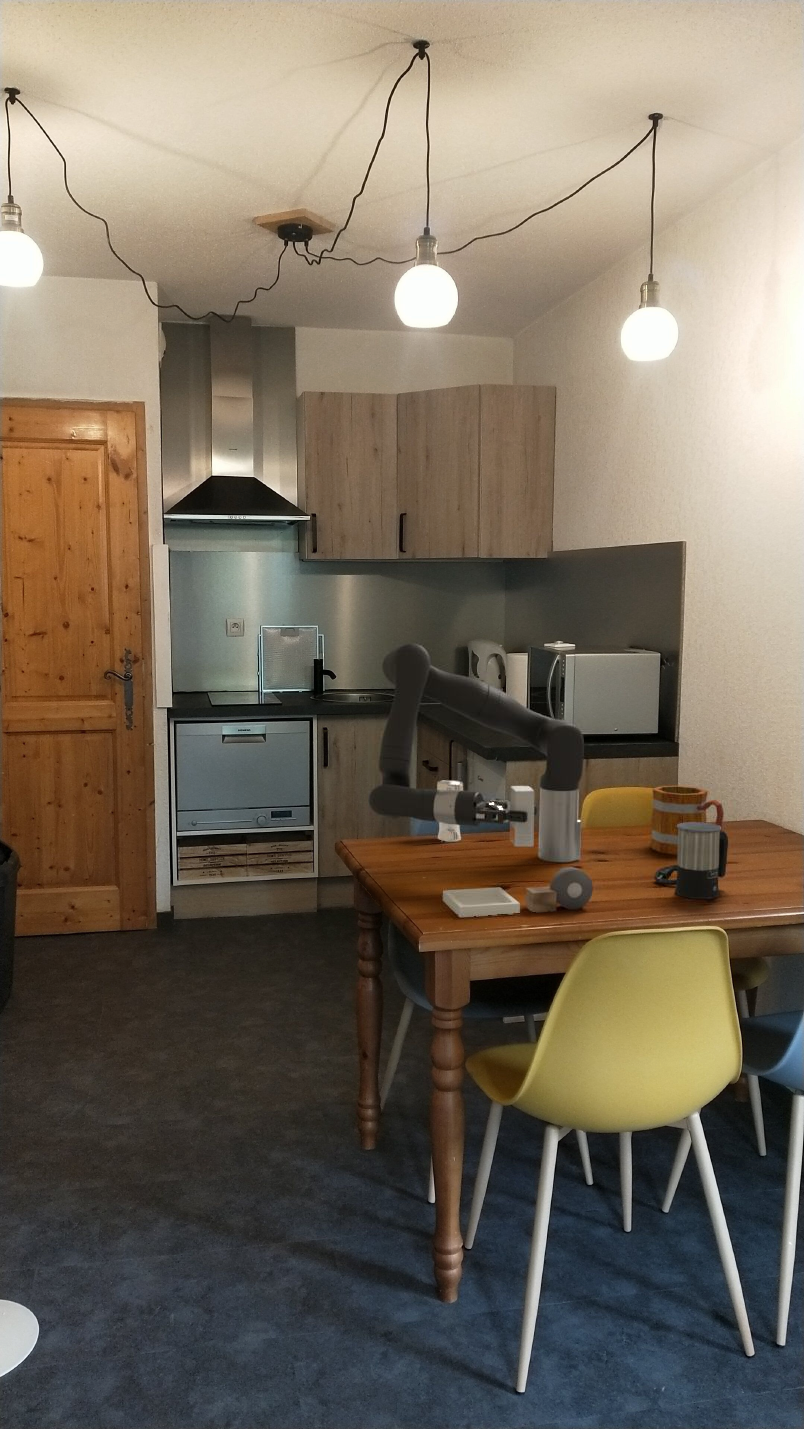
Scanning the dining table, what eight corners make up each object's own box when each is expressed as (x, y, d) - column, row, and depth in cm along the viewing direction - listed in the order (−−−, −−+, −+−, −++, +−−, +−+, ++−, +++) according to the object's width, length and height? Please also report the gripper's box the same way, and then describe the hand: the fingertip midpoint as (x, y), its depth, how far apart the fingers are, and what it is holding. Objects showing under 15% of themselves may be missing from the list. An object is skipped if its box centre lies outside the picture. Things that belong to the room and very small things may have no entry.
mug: (639, 847, 278) (641, 788, 276) (673, 840, 286) (675, 783, 284) (702, 862, 262) (705, 800, 261) (737, 855, 270) (740, 795, 269)
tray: (499, 897, 230) (499, 887, 230) (519, 913, 218) (519, 903, 218) (442, 900, 227) (442, 890, 227) (459, 917, 215) (460, 907, 215)
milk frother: (711, 902, 228) (714, 832, 226) (638, 891, 236) (640, 823, 235) (730, 887, 240) (733, 821, 238) (661, 877, 248) (663, 812, 247)
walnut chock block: (548, 905, 224) (549, 886, 224) (556, 911, 220) (556, 891, 220) (525, 907, 223) (526, 887, 223) (532, 912, 219) (533, 893, 219)
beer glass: (465, 837, 287) (466, 781, 285) (458, 843, 280) (459, 785, 278) (440, 835, 289) (441, 779, 287) (432, 841, 282) (433, 783, 281)
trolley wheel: (585, 903, 226) (586, 865, 225) (592, 908, 222) (593, 870, 222) (549, 906, 224) (550, 867, 223) (555, 910, 221) (556, 872, 220)
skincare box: (509, 840, 237) (510, 785, 236) (528, 840, 237) (529, 785, 236) (514, 847, 231) (515, 790, 230) (534, 846, 231) (535, 790, 230)
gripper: (447, 796, 232) (523, 802, 226) (469, 785, 245) (541, 790, 239) (447, 831, 233) (522, 838, 227) (469, 818, 246) (540, 824, 240)
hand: (531, 813), depth 233 cm, fingers closed on skincare box, 7 cm apart
